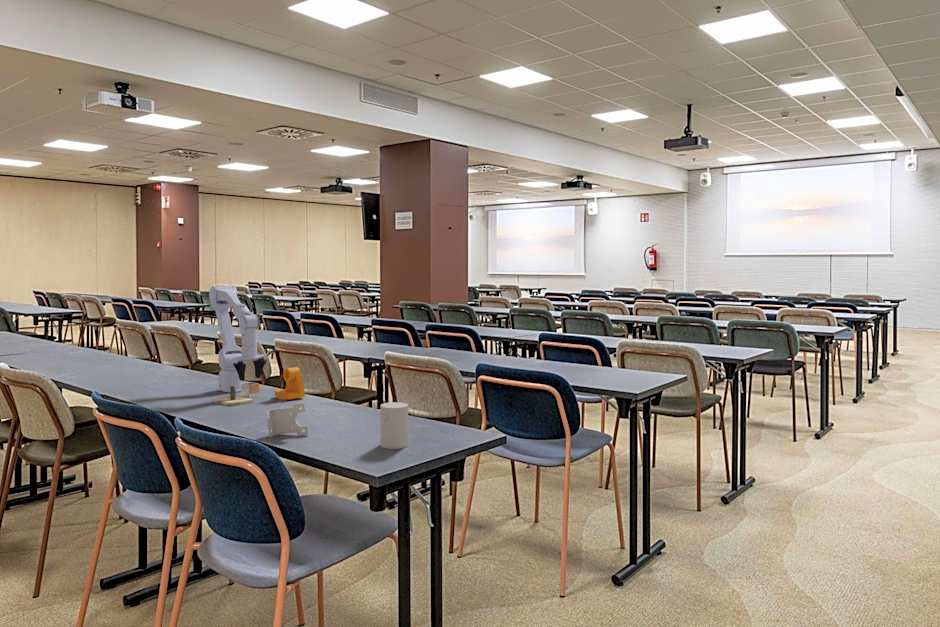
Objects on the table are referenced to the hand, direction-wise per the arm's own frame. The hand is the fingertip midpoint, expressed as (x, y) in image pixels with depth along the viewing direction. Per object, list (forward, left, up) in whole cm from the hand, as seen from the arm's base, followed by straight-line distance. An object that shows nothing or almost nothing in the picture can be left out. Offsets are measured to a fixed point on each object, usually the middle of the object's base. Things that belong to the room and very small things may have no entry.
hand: (250, 379), depth 277 cm
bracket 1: (+15, +7, -7) cm, 18 cm away
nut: (0, 0, -7) cm, 7 cm away
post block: (+4, -11, -7) cm, 14 cm away
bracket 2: (+61, -33, -7) cm, 70 cm away
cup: (+94, -21, -7) cm, 97 cm away
